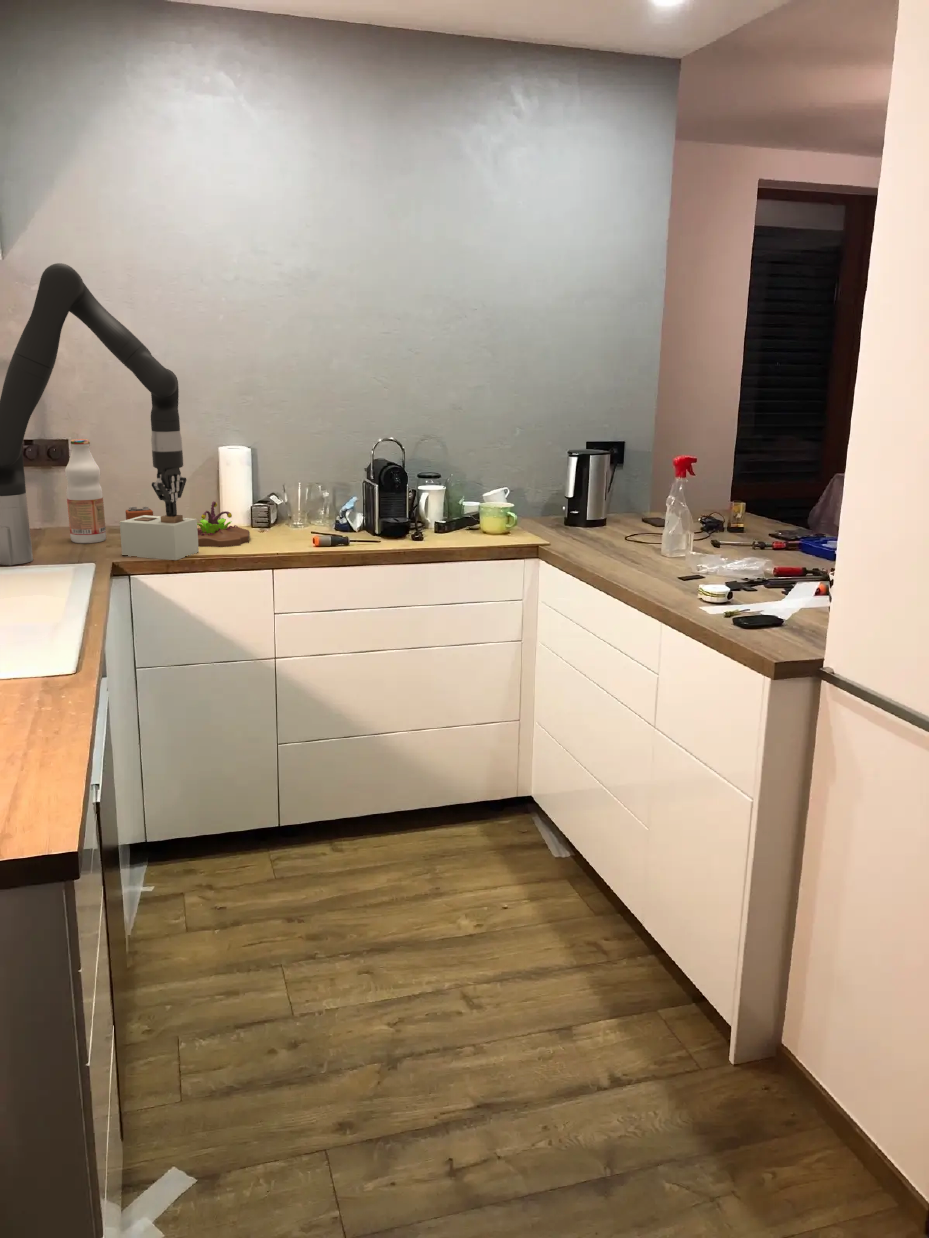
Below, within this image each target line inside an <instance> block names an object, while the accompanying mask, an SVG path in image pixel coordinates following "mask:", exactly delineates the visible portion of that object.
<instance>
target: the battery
mask: <svg viewBox="0 0 929 1238" xmlns="http://www.w3.org/2000/svg"><path fill="white" fill-rule="evenodd" d="M143 515H148V516H154V511H153V510H152V509H151V508H149V506H142V508H138V507H137V506H129V507H128V509H125V520H128V519H132V518H136V517H140V516H143Z"/></svg>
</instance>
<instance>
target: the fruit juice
mask: <svg viewBox="0 0 929 1238" xmlns="http://www.w3.org/2000/svg"><path fill="white" fill-rule="evenodd" d="M90 444H91V441H90V439H87V438H85V439H84V438H77V439H76V438H75V439H70V446H71V453H70V456H69V460H68V462H67V465H66V467H65V471H64V475H65V478H66V480H67V487H66V502H67V514H68V522H69V523H68V525H69V536H70V540H71V542H73V543H76V544H95V543H100V542H104V541H106V539H107V530H106V517H105V507H104V505H105V504H104V493H103V487H102V486H101V483H100V479H101V469H100V467H99V465H98V464H97V462H96V460H95V459H94V456H93V454H92V452H91V449H90V446H91V445H90Z"/></svg>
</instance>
